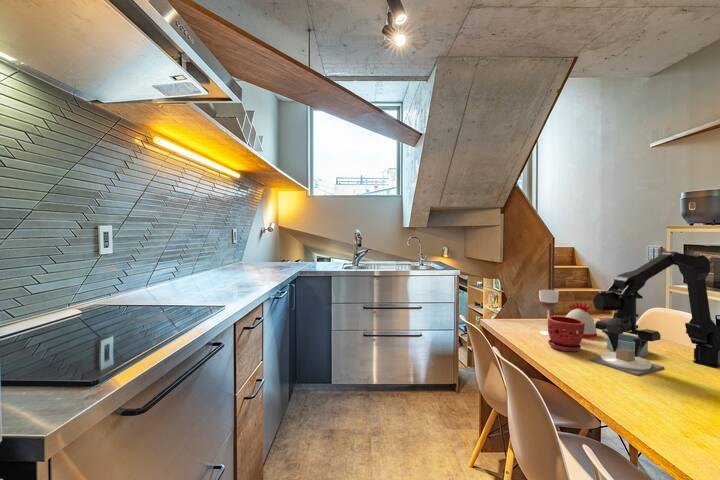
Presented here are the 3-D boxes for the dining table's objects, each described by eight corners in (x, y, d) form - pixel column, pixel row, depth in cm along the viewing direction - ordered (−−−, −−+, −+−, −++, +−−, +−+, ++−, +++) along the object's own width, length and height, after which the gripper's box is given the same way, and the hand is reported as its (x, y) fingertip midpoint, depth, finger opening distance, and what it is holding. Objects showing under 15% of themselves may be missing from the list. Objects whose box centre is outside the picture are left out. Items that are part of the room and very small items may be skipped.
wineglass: (534, 332, 170) (534, 290, 170) (547, 330, 174) (547, 289, 173) (549, 336, 163) (550, 292, 163) (562, 334, 167) (562, 291, 166)
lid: (660, 366, 125) (661, 353, 125) (635, 373, 119) (636, 359, 119) (616, 353, 138) (616, 341, 138) (592, 358, 132) (592, 346, 132)
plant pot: (563, 354, 139) (563, 323, 139) (540, 344, 152) (540, 316, 152) (592, 352, 141) (592, 322, 141) (566, 342, 154) (567, 314, 154)
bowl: (654, 353, 141) (655, 340, 141) (635, 357, 135) (635, 344, 135) (619, 343, 152) (619, 332, 152) (599, 347, 147) (600, 335, 147)
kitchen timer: (593, 339, 158) (594, 306, 158) (559, 334, 167) (559, 302, 167) (598, 333, 169) (598, 301, 169) (565, 328, 178) (565, 298, 178)
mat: (664, 368, 125) (664, 366, 125) (636, 375, 118) (637, 374, 118) (615, 354, 139) (615, 352, 139) (588, 360, 133) (588, 358, 133)
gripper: (586, 307, 134) (585, 349, 134) (642, 318, 117) (641, 365, 117) (604, 305, 138) (604, 345, 138) (661, 315, 121) (661, 361, 121)
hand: (625, 353), depth 129 cm, fingers open, 7 cm apart
